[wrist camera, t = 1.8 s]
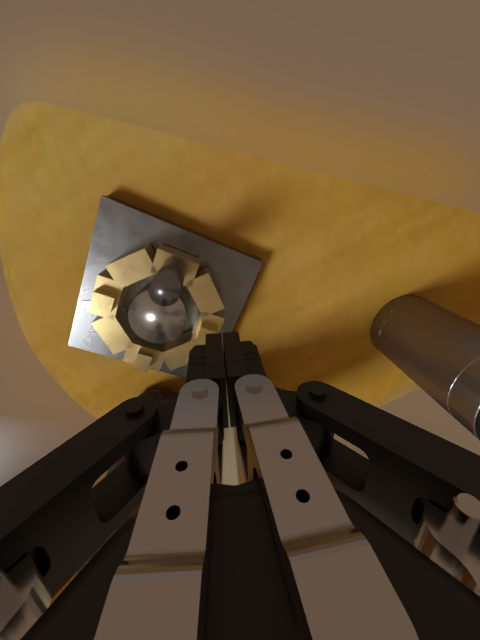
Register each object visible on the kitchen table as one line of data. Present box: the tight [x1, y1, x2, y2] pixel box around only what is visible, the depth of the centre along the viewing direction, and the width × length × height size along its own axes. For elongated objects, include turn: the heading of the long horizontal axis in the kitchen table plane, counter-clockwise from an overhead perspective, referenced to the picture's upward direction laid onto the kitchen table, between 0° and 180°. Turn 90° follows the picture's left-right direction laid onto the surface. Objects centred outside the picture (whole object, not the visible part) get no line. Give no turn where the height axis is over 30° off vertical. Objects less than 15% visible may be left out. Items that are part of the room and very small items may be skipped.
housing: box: [68, 196, 263, 378], centre depth 32 cm, size 18×18×6 cm
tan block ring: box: [89, 244, 225, 372], centre depth 28 cm, size 14×14×10 cm
